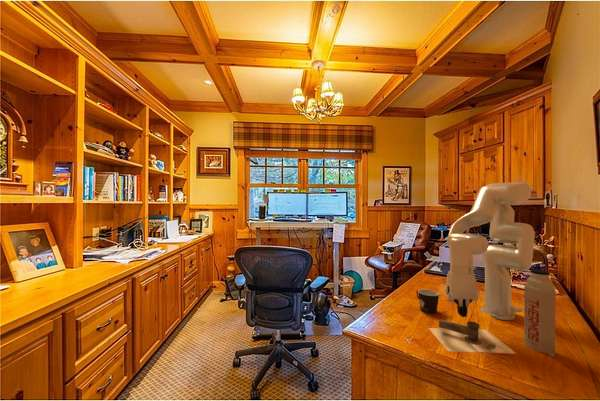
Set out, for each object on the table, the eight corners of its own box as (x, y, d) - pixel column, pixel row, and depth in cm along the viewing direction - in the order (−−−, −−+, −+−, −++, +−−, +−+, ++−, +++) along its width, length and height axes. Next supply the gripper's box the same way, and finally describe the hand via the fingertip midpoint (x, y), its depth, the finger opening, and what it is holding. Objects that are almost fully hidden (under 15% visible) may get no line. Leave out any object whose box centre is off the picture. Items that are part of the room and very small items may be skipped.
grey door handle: (495, 343, 93) (496, 327, 93) (494, 347, 90) (494, 331, 90) (440, 327, 104) (440, 313, 104) (438, 330, 102) (438, 316, 101)
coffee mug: (441, 319, 116) (441, 296, 116) (420, 317, 118) (420, 295, 118) (433, 308, 128) (434, 287, 128) (414, 306, 130) (414, 286, 129)
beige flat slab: (486, 333, 104) (486, 328, 104) (516, 358, 88) (516, 351, 88) (428, 331, 105) (428, 326, 105) (448, 355, 90) (448, 349, 90)
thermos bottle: (539, 358, 88) (540, 273, 88) (518, 344, 96) (518, 267, 96) (561, 356, 89) (562, 273, 89) (538, 343, 97) (538, 267, 96)
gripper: (475, 265, 106) (476, 310, 107) (437, 266, 107) (438, 311, 108) (487, 271, 99) (488, 319, 100) (446, 272, 100) (447, 320, 100)
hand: (462, 315), depth 104 cm, fingers closed
